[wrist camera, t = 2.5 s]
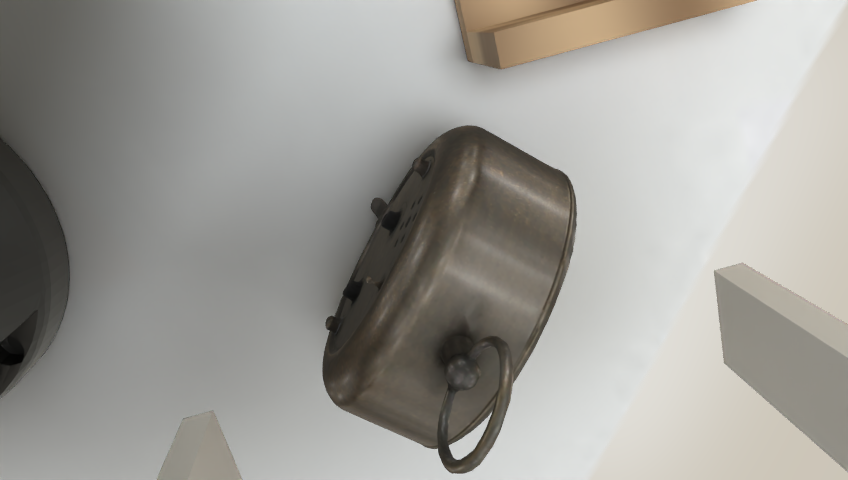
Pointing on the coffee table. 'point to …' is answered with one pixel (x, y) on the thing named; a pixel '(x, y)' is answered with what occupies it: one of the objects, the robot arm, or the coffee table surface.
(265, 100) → the coffee table surface
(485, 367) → the alarm clock
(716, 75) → the coffee table surface
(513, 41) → the wooden rack
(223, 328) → the coffee table surface
